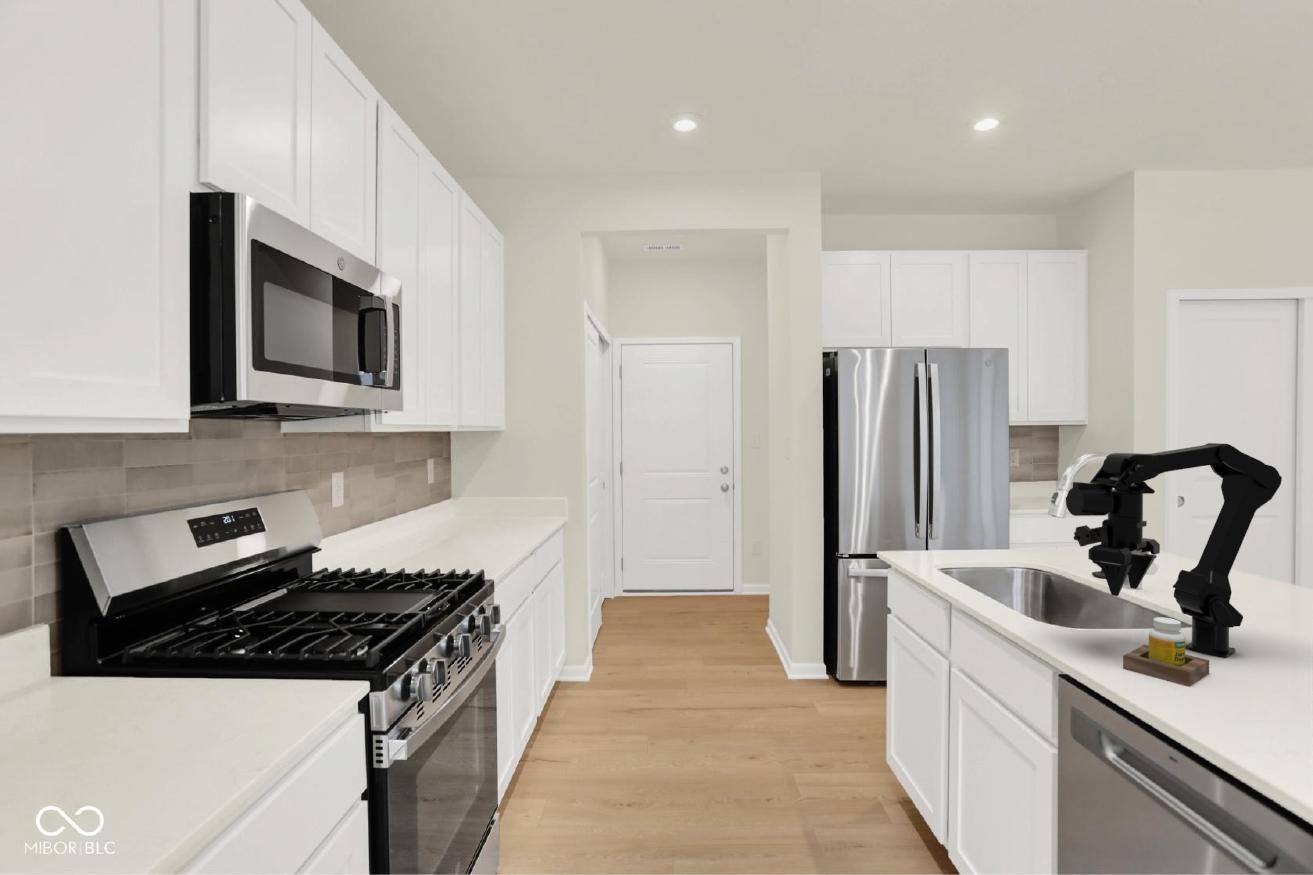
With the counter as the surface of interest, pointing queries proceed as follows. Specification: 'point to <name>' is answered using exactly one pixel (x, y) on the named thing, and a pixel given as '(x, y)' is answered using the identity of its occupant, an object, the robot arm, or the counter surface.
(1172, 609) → the counter surface
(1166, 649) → the supplement bottle
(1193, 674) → the socket block
